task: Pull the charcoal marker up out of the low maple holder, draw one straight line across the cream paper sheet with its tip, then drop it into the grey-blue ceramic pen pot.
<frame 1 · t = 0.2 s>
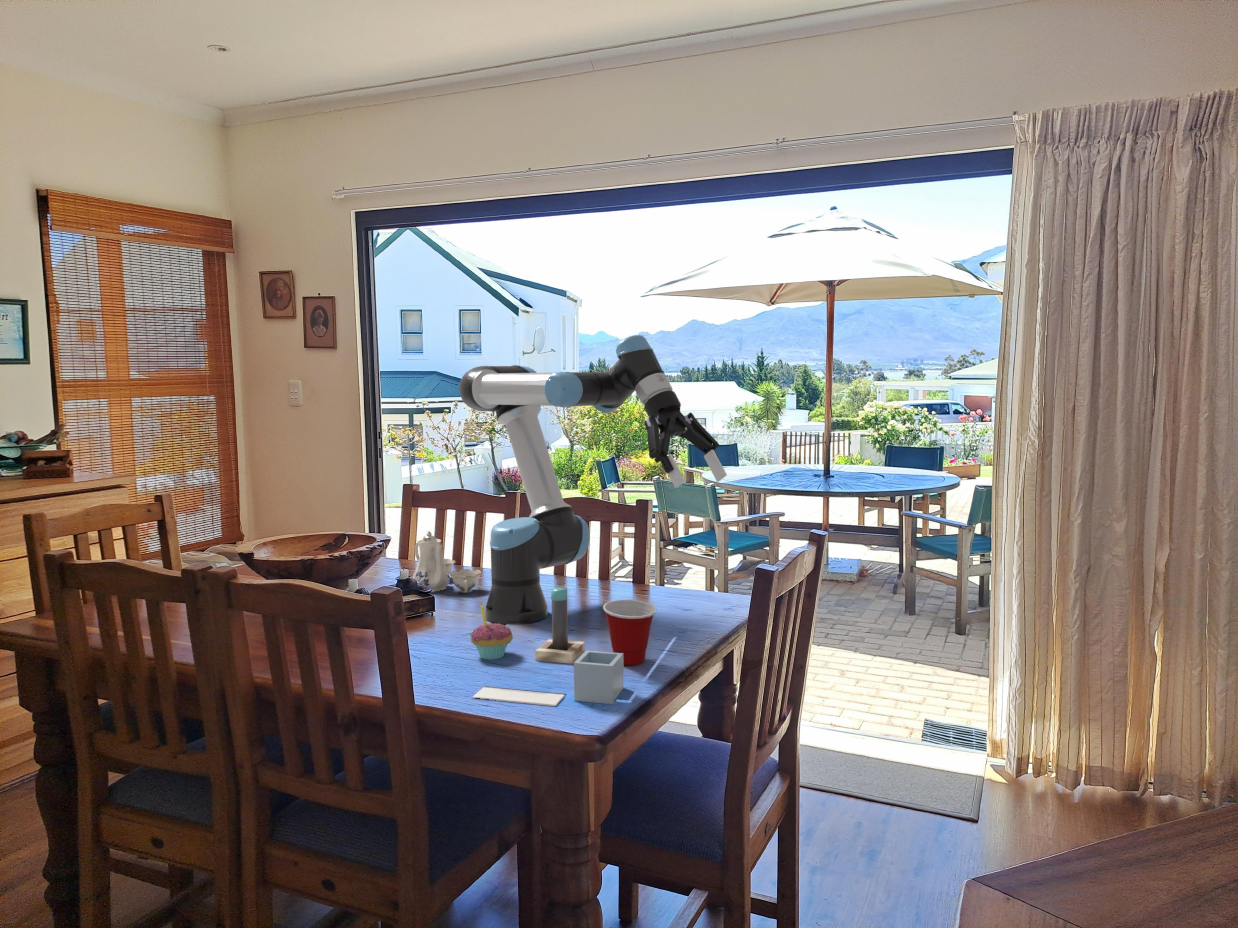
hand: (701, 481, 181), 35 cm above the table, tool tilted 35°, fingers open, 13 cm apart
cupcake: (492, 658, 179), on the table
paper: (527, 688, 161), on the table
marker stand: (560, 657, 178), on the table
chinaware: (441, 588, 240), on the table
plastic cup: (630, 664, 174), on the table
marker: (560, 655, 178), resting on marker stand
pen pot: (599, 695, 157), on the table
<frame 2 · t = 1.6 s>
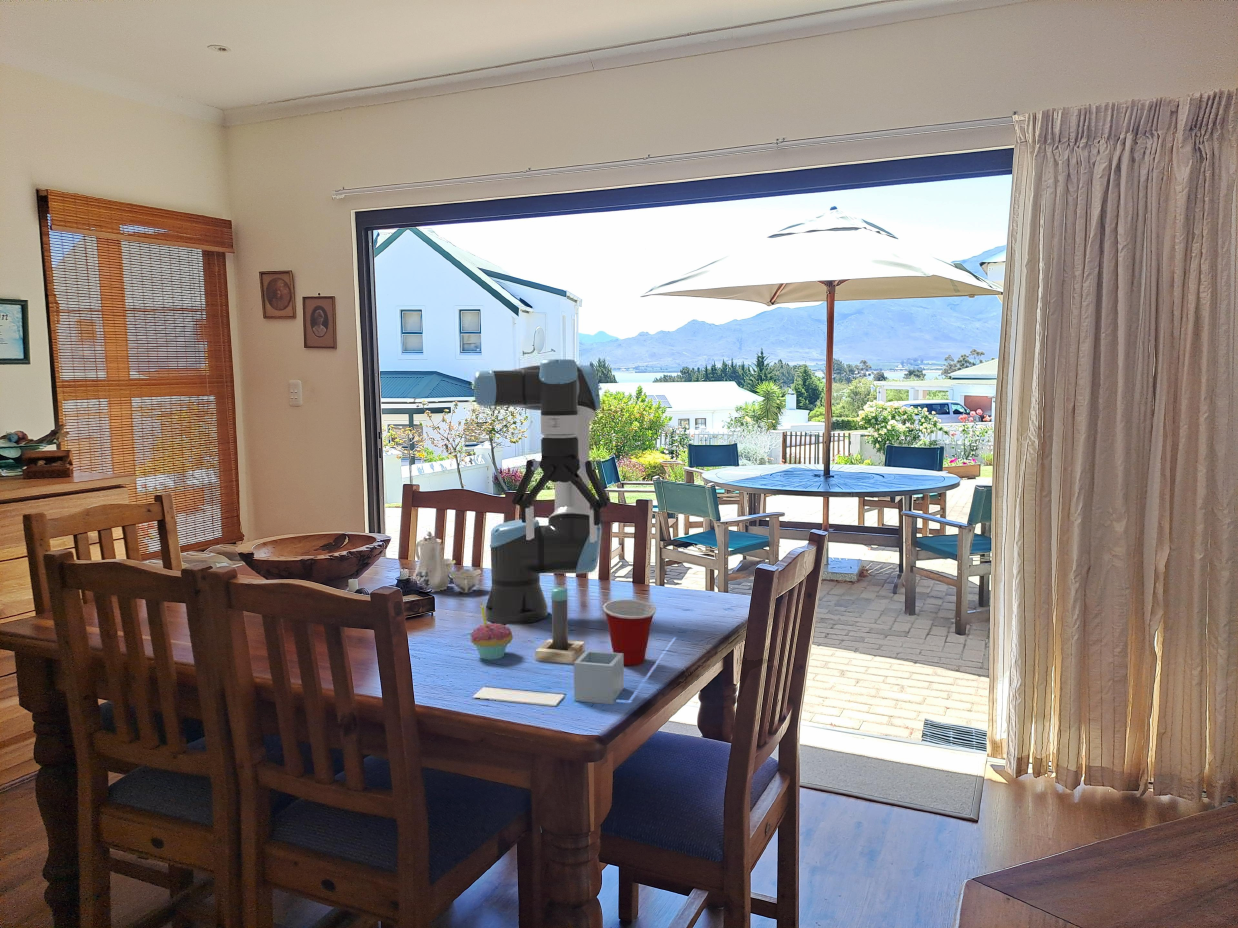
hand: (561, 540, 175), 25 cm above the table, tool pointing down, fingers open, 13 cm apart
nothing on the table moved.
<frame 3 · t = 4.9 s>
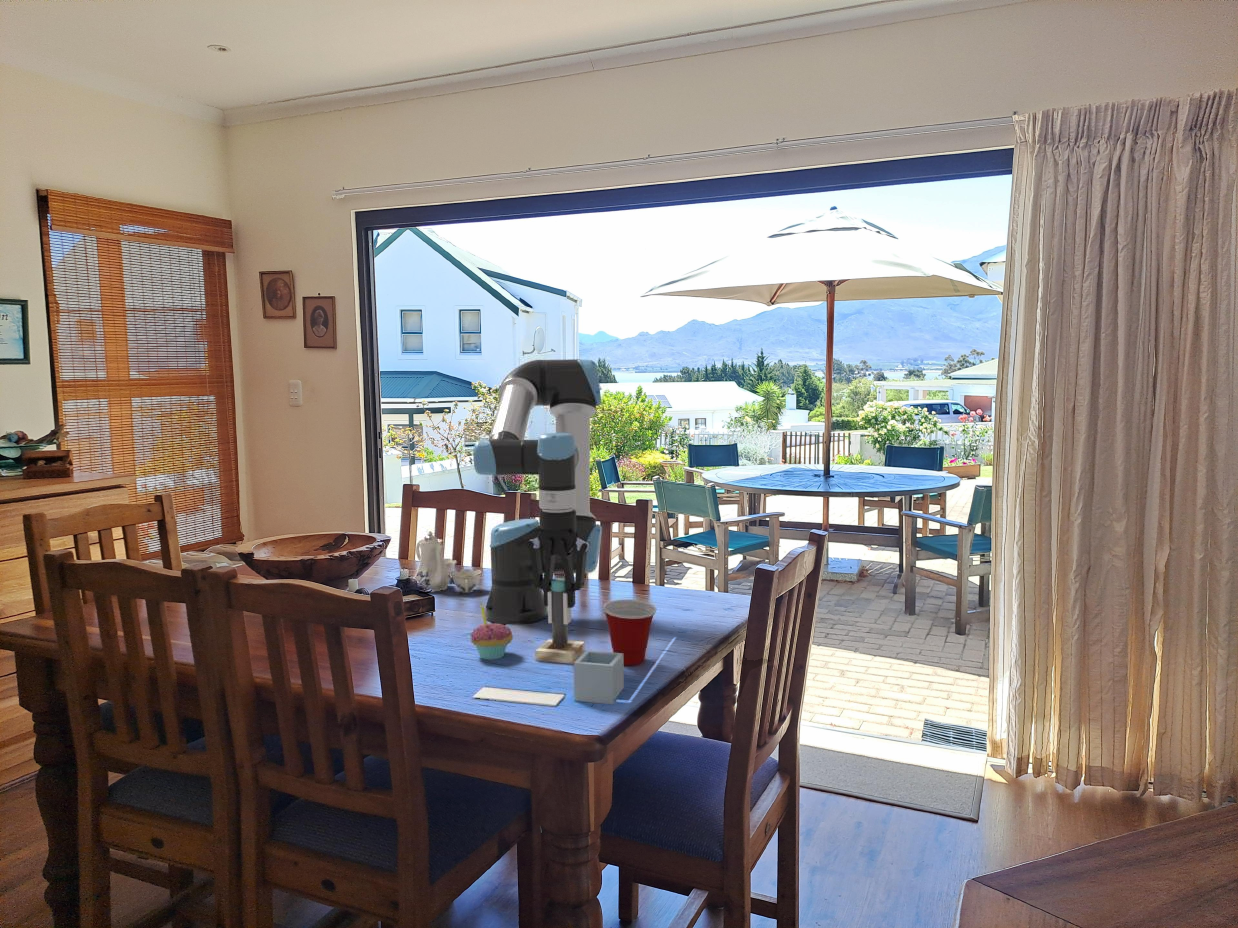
hand: (559, 621, 177), 8 cm above the table, tool pointing down, fingers closed on marker, 3 cm apart
marker: (560, 646, 178), point 2 cm above the table, touching gripper
everything else where it was.
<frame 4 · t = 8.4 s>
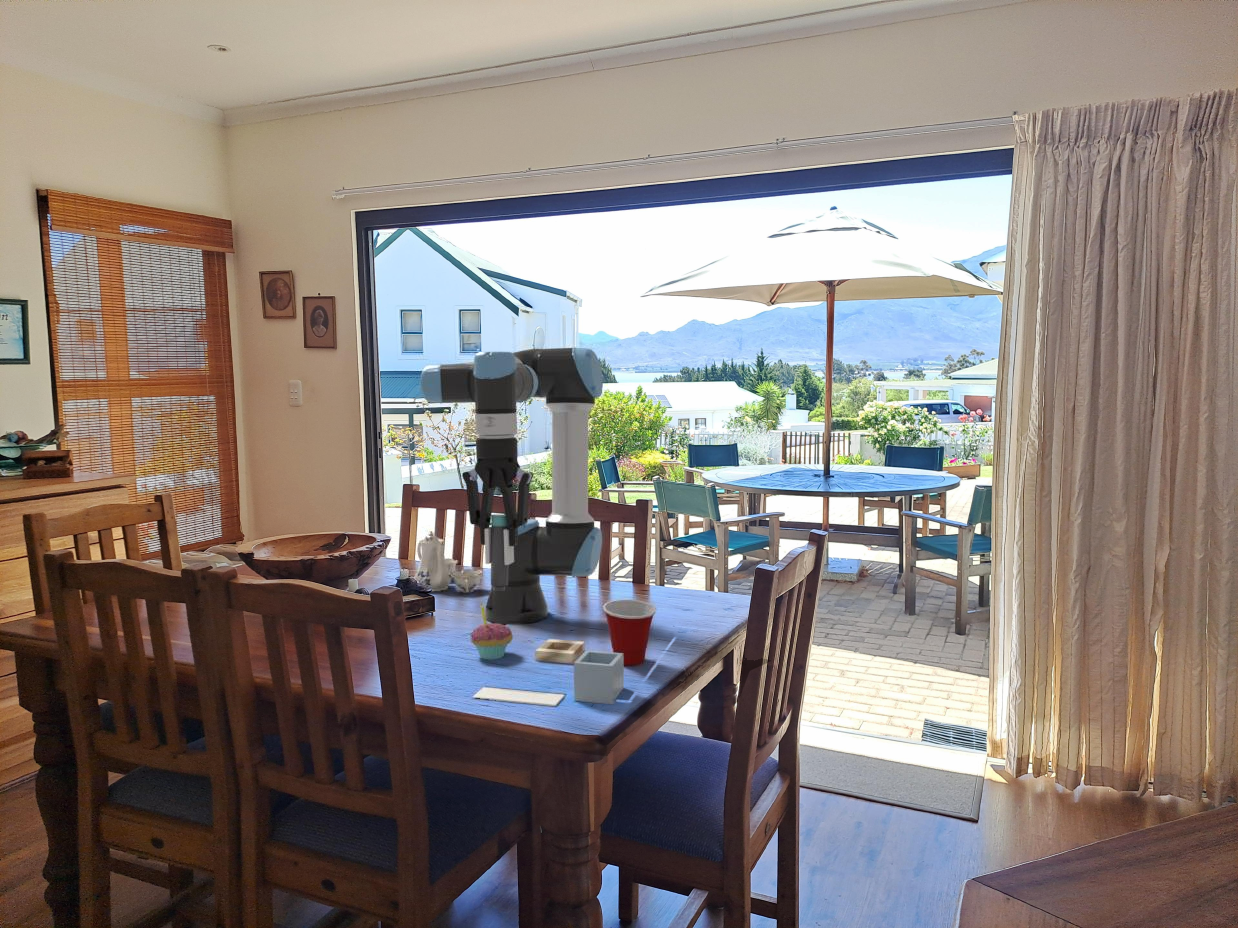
hand: (499, 562, 159), 24 cm above the table, tool pointing down, fingers closed on marker, 3 cm apart
marker: (499, 590, 159), point 19 cm above the table, tilted 6°, touching gripper
everything else where it was.
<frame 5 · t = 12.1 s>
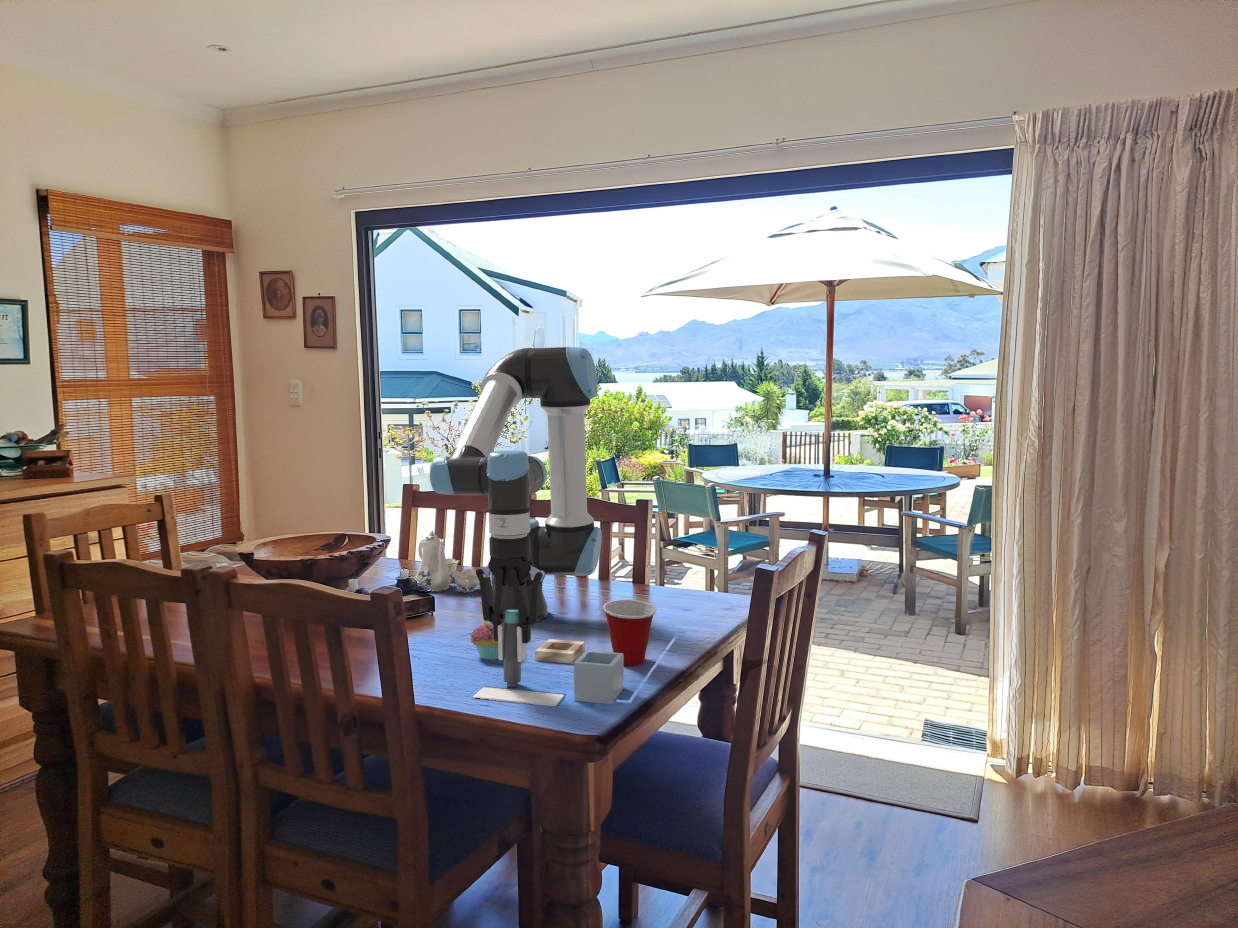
hand: (512, 658, 161), 6 cm above the table, tool pointing down, fingers closed on marker, 3 cm apart
marker: (512, 685, 161), on the table, tilted 6°, touching gripper
everything else where it was.
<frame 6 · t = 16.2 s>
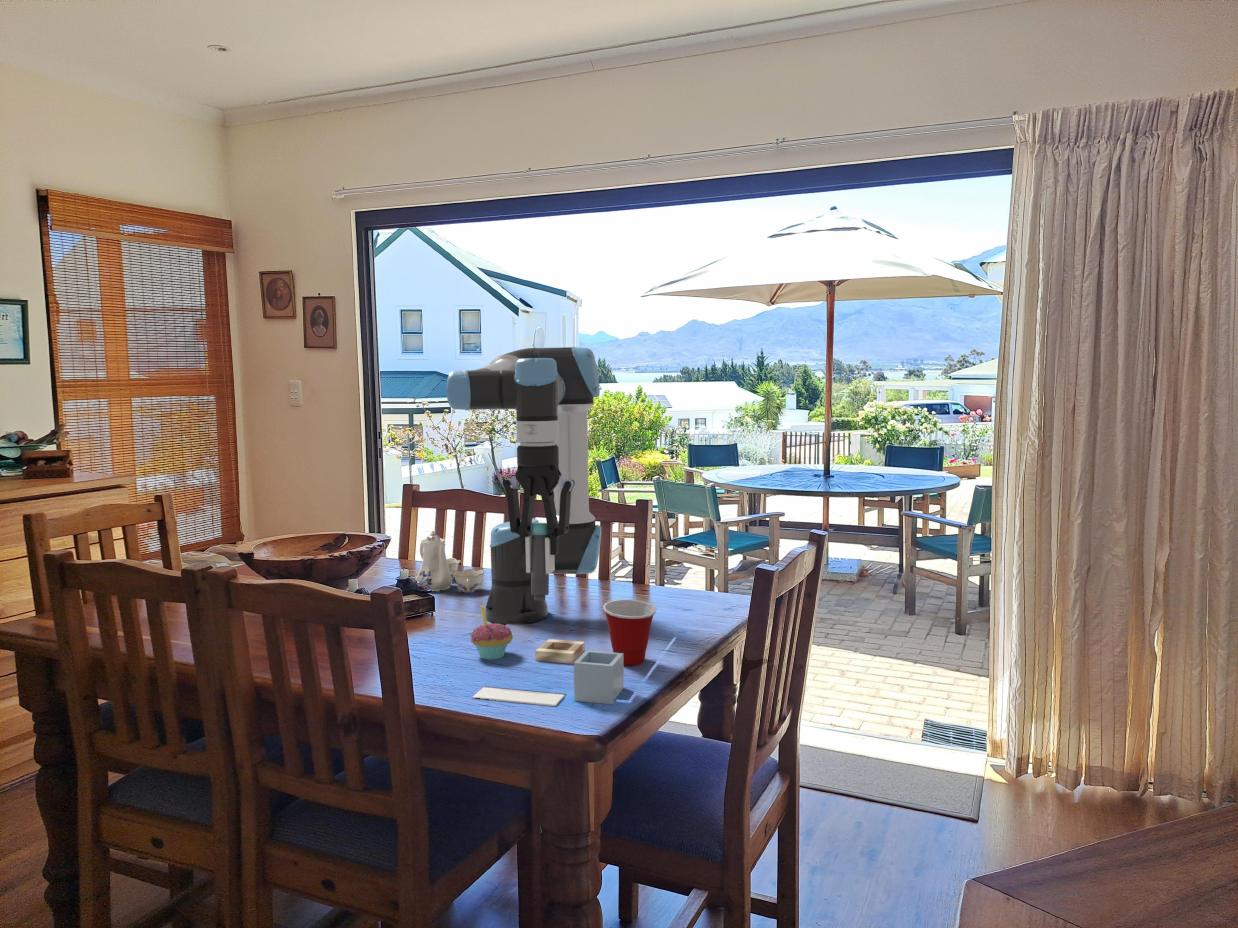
hand: (540, 571, 158), 22 cm above the table, tool pointing down, fingers closed on marker, 3 cm apart
marker: (539, 599, 157), point 17 cm above the table, tilted 6°, touching gripper
when the fingers open (9 cm above the table, at t = 20.1 s): marker drops 2 cm, resting on pen pot.
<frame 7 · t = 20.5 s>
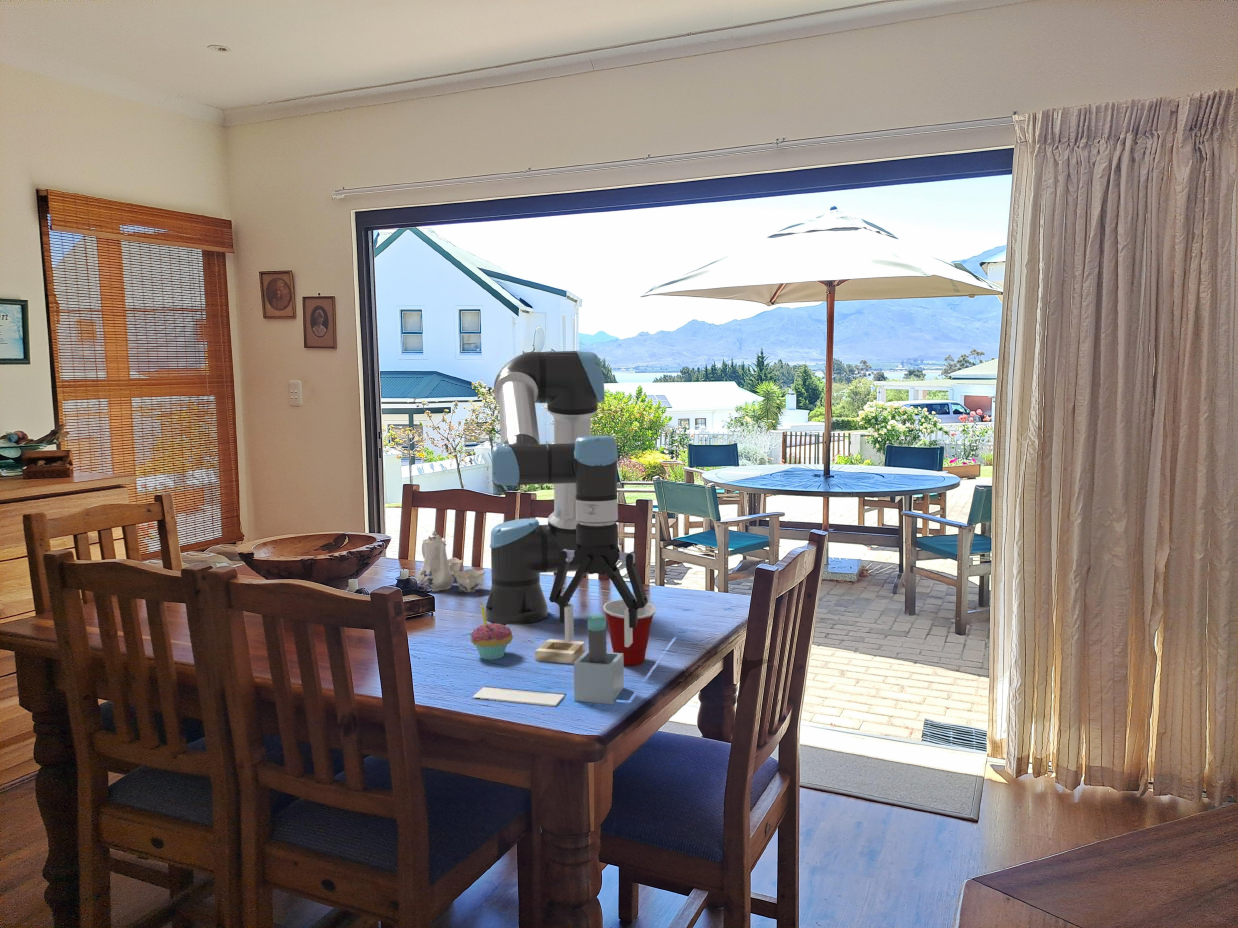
hand: (598, 642, 156), 10 cm above the table, tool pointing down, fingers open, 10 cm apart
marker: (598, 690, 156), point 1 cm above the table, touching pen pot
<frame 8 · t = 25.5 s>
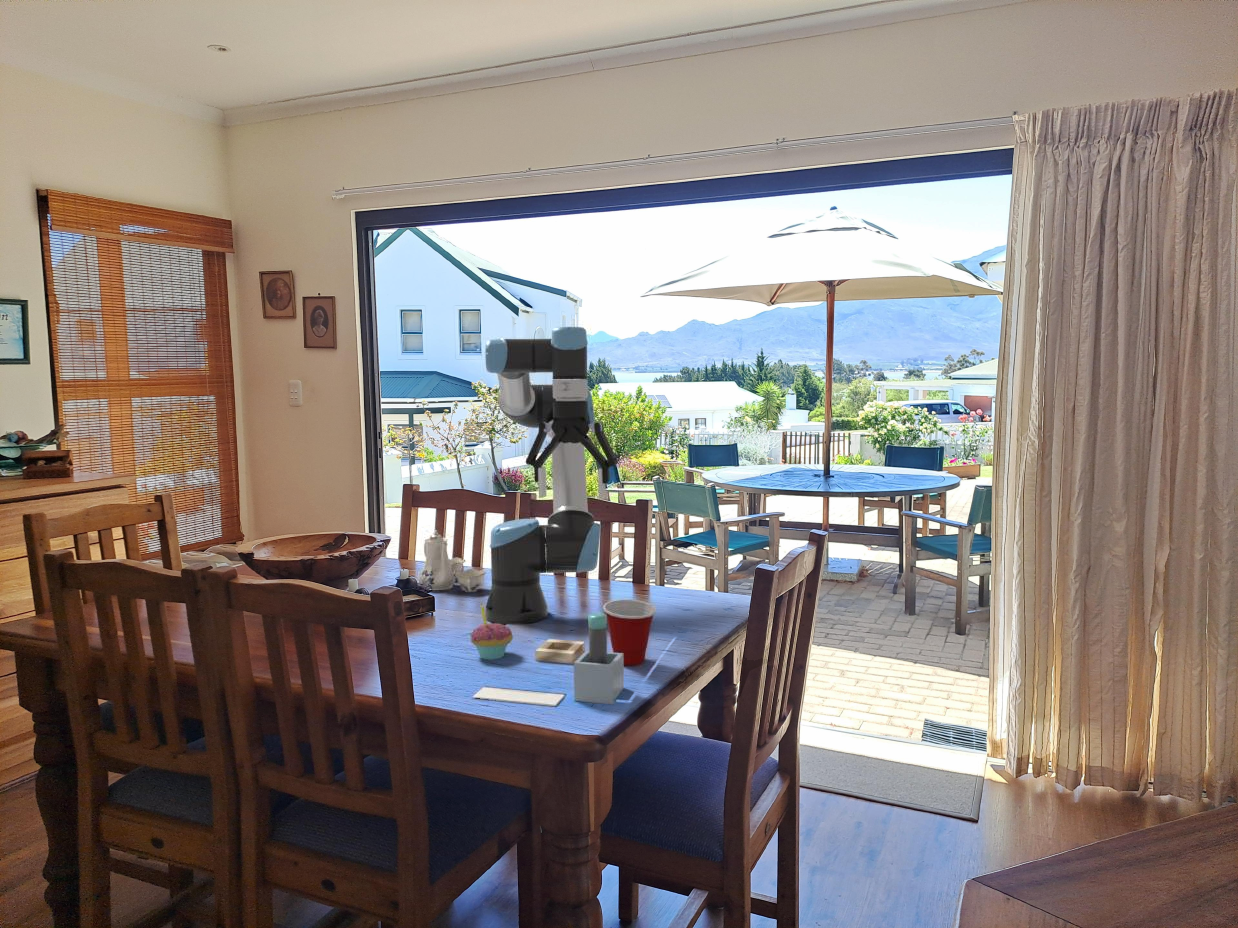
hand: (572, 498, 186), 32 cm above the table, tool pointing down, fingers open, 13 cm apart
at the end: marker 0.4 cm off-centre on the pen pot, point 1.0 cm above the pen pot's base; the gripper is holding nothing; marker tilted 3° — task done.
